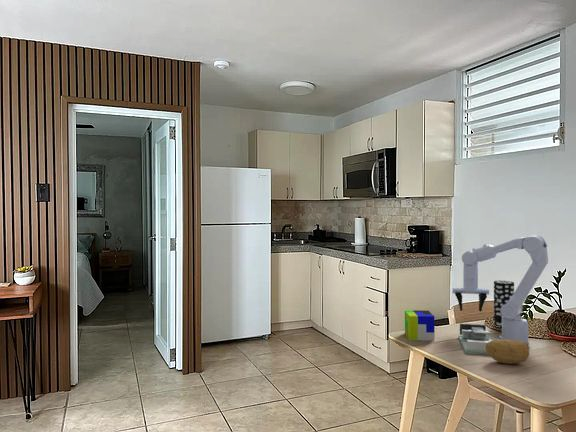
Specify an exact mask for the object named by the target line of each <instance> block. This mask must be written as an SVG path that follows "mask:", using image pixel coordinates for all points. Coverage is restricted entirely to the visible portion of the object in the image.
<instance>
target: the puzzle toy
mask: <svg viewBox="0 0 576 432" xmlns="http://www.w3.org/2000/svg"><path fill="white" fill-rule="evenodd" d="M404 334H405V335H406V337H407V339H408V340H409V341H435V315H434V314H432V312H430V310H418V309H417V310H414V309H413V310H412V309H411V310H410V309H409V310H408V309H407V310H404Z"/></svg>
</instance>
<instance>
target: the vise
mask: <svg viewBox="0 0 576 432" xmlns="http://www.w3.org/2000/svg"><path fill="white" fill-rule="evenodd" d="M458 340H459V342H460V344H461V346H462V349H463V350H464V353H465V354H468V355H481V354H485V356H490V355H489V354H488V353H487V351H486V348H485V347H486V344H487V343H488V342H490V341H492V339H491V337H489V340H486V341H479V340H471V339H466V338H462V336H458Z"/></svg>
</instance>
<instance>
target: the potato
mask: <svg viewBox="0 0 576 432" xmlns="http://www.w3.org/2000/svg"><path fill="white" fill-rule="evenodd" d="M491 340H492V339H491ZM485 348H486V351H487V353H488V354H489V355H488V356H490V357H491V358H492V359H493V360H495V361H496V362H497V363H501V364H505V363H506V364H505V365H513V364H514V365H515V364H519V363H523V362H525V361H526V360H527V359H528V358H529V356H530V347H529V345H528V343H525V342H523V341H518V340H508V339H503V340H501V339H494V340H492V341H490V342H488V343H487V344H486V347H485Z"/></svg>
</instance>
